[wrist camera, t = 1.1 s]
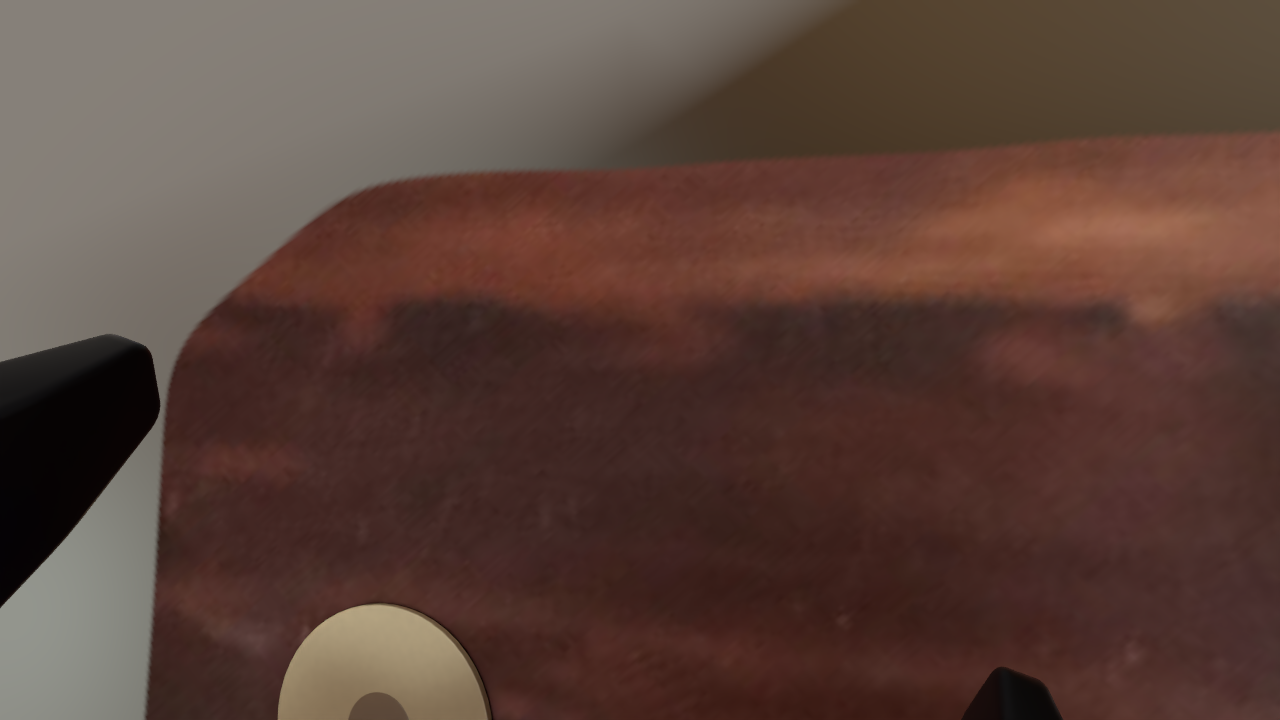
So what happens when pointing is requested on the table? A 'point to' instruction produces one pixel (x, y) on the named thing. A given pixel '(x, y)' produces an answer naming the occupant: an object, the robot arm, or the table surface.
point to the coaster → (382, 670)
